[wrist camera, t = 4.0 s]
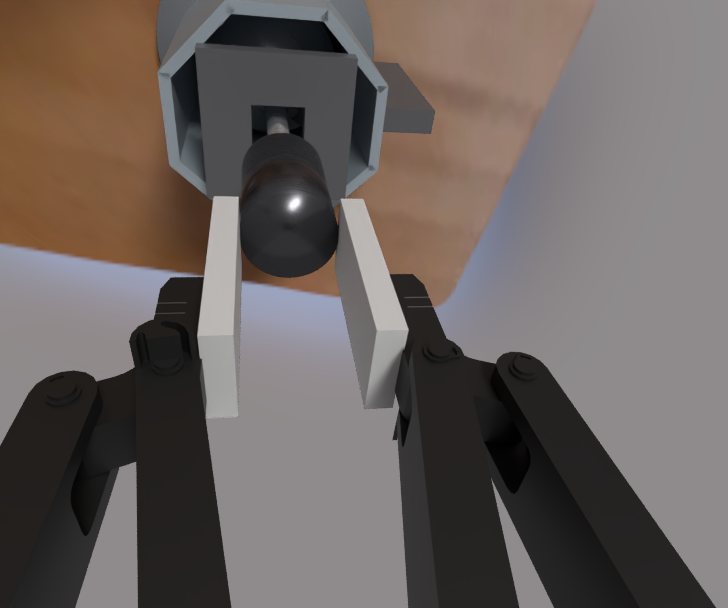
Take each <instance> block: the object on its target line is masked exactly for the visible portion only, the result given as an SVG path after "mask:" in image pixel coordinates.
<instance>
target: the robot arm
mask: <svg viewBox="0 0 728 608" xmlns="http://www.w3.org/2000/svg"><path fill="white" fill-rule="evenodd" d="M338 231H339V239H338V244H337V247H336V256H335V272H336V277H337V282H338V287H339V291H340V296H341V301H342V305H343V310H344V315H345V319H346V324H347V329H348V334H349V338H350V343H351V348H352V352H353V357H354V362H355V366H356V371H357V375H358V381H359V385H360V390H361V395H362V399H363V404H364V409H376V408H392V407H393V403H394V398H395V394H396V397H397V401H398V404H399V412H398V416H397V421H396V425H395V430H394V436H393V440H397V437H398V451H399V466H400V481H401V497H402V514H403V529H404V545H405V562H406V576H407V592H408V606H409V607H408V608H519V605H518V600H517V595H516V591H515V586H514V581H513V577H512V572H511V568H510V563H509V558H508V554H507V549H506V544H505V540H504V535H503V531H502V526H501V522H500V517H499V512H498V509H497V503H496V499H495V494H494V490H493V485H492V481H493V483H494V485H495V487H496V489H497V491H498V493H499V495H500V497H501V499H502V501H503V503H504V505H505V507H506V509H507V511H508V514H509V515H510V518H511V520H512V522H513V524H514V526H515V528H516V530H517V532H518V534H519V536H520V538H521V540H522V542H523V544H524V547H525V549H526V551H527V552H528V555H529V557H530V559H531V561H532V563H533V565H534V567H535V569H536V571H537V573H538V575H539V577H540V580H541V582H542V584H543V586H544V587H545V590H546V592H547V594H548V596H549V598H550V600H551V602H552V604H553V606H554V608H716V607H715V606H714V604H713V603H712V601H711V600H710V598H709V597H708V596H707V594H706V593H705V591H704V590H703V589H702V587H701V586H700V584H699V583H698V582H697V580H696V579H695V577H694V576H693V574H692V573H691V571H690V570H689V569H688V567H687V566H686V564H685V563H684V562H683V560H682V559H681V557H680V556H679V554H678V553H677V552H676V550H675V549H674V547H673V546H672V545H671V543H670V542H669V540H668V539H667V538H666V536H665V535H664V533H663V532H662V530H661V529H660V528H659V526H658V525H657V523H656V522H655V520H654V519H653V518H652V516H651V515H650V513H649V512H648V511H647V509H646V508H645V506H644V505H643V503H642V502H641V501H640V499H639V498H638V496H637V495H636V494H635V492H634V491H633V489H632V488H631V486H630V485H629V484H628V482H627V481H626V479H625V478H624V476H623V475H622V474H621V472H620V471H619V469H618V468H617V467H616V465H615V464H614V462H613V461H612V459H611V458H610V457H609V455H608V454H607V452H606V451H605V450H604V448H603V447H602V445H601V444H600V442H599V441H598V439H597V438H596V437H595V435H594V434H593V432H592V431H591V430H590V428H589V427H588V425H587V424H586V422H585V421H584V420H583V418H582V417H581V415H580V414H579V413H578V411H577V410H576V408H575V407H574V405H573V404H572V403H571V401H570V400H569V398H568V397H567V395H566V394H565V393H564V391H563V390H562V388H561V387H560V386H559V384H558V383H557V381H556V380H555V378H554V377H553V376H552V374H551V373H550V372H549V370H548V368H547V367H546V366H545V365H544V364H543V363H542V362H541V361H540V360H538V359H536V358H535V357H533V356H531V355H528V354H525V353H521V352H509V353H505V354H503V355H502V356H500V357H499V359H498V360H497V362H496V364H494V363H489V362H484V361H479V360H475V359H472V358H468V357H466V356H464V354H463V352H462V350H461V348H460V347H458V346H457V345H456V344H455V343H454V342H452V341H450V340H448V339H446V336H445V334H444V331H443V329H442V327H441V324H440V322H439V320H438V317H437V315H436V312H435V310H434V308H433V307H432V303H431V301H430V298H428V294H427V291H426V289H425V286H424V284H423V283H422V282H421V281H419V280H418V279H417V278H416V277H415V276H414V275H413V274H389V272H388V269H387V266H386V263H385V260H384V257H383V255H382V252H381V249H380V246H379V243H378V240H377V237H376V234H375V232H374V229H373V226H372V223H371V220H370V217H369V214H368V211H367V209H366V206H365V203H364V200H363V199H340V209H339V221H338ZM241 280H242V262H241V241H240V216H239V197H232V196H214V198H213V206H212V215H211V223H210V232H209V241H208V249H207V258H206V266H205V275H204V277H175V278H170V279H169V280H168V281H167V282H166V283H165V285H164V286H163V287H162V288H161V289H160V293H159V298H158V304H157V308H156V312H155V313H156V314H155V316H154V320H150V321H148V322H146V323H144V324H142V325H140V326H138V327H137V329H136V330H135V331H134V332H133V333H132V334H131V337H130V341H129V343H130V347H131V352H132V356H133V361H134V365H135V367H134V368H133V369H131V370H129V371H128V372H126V373H124V374H121V375H118V376H116V377H112V378H108V379H104V380H101V381H97V382H96V381H95V379H94V377H92V376H91V375H89V374H87V373H85V372H79V371H66V372H60V373H57V374H54V375H51V376H49V377H46V378H45V379H43V380H42V381H40V382H39V383H37V384H36V385H35V386H34V388H33V389H32V390H31V391H30V393H29V394H28V396H27V397H26V399H25V401H24V403H23V405H22V407H21V408H20V410H19V412H18V414H17V416H16V418H15V419H14V421H13V423H12V425H11V427H10V429H9V431H8V432H7V434H6V436H5V438H4V440H3V442H2V444H1V446H0V608H75V606H76V603H77V600H78V597H79V594H80V590H81V587H82V584H83V581H84V578H85V575H86V571H87V568H88V564H89V562H90V559H91V556H92V552H93V549H94V546H95V542H96V540H97V537H98V534H99V530H100V527H101V524H102V521H103V518H104V515H105V511H106V508H107V505H108V502H109V499H110V496H111V493H112V489H113V486H114V483H115V480H116V477H117V474H118V470H119V467H121V466H124V465H127V464H130V463H133V462H136V467H137V468H136V469H137V552H138V553H137V558H138V608H231V602H230V595H229V588H228V580H227V572H226V565H225V558H224V551H223V543H222V536H221V528H220V522H219V514H218V507H217V499H216V492H215V484H214V477H213V471H212V463H211V455H210V448H209V440H208V434H207V426H206V419H205V414H207V418H224V417H238V405H239V403H238V402H239V363H240V323H241V321H240V320H241ZM491 478H492V481H491Z"/></svg>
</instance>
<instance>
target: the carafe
mask: <svg viewBox="0 0 728 608" xmlns="http://www.w3.org/2000/svg"><path fill="white" fill-rule="evenodd" d="M231 14H240V15H252V16H264V17H276V18H288V19H300V20H312V21H321V23H322V24H323V26H324V28H325V30H326V31H327V33H328V35H329V38H330V40H331V43H332V46H333V50H334V53H333V52H319V51H305V50H291V49H277V48H263V47H250V46H236V45H222V44H208V43H205V41H206V40H207V39H208V38H209V37H210V36H211V35H212V34H213V33H214V32H215V30H216V29H217V28H218V27H219V26H220V25H221V24H222V23H223V22H224V21H225V20H226V19H227V18H228V17H229V16H230V15H231ZM158 80H159V88H160V95H161V103H162V111H163V119H164V127H165V135H166V143H167V151H168V159H169V165H170V166H171V167H172V168H173V169H175V170H176V171H177V172H178V173H179V174H181V175H182V176H183V177H184V178H185V179H187V180H188V181H189V182H190V183H191V184H193V185H194V186H195V187H196V188H197V189H199V190H200V191H201V192H202V193H203V194H205V195H206V196H207V198H209V199H211V200H212V201H213V198H214V196H232V197H239V216H240V221H241V181H242V163H243V159H244V156H245V154H246V152H247V151H248V149H249V148H250V147H251V145H252V144H253V143H255V142H256V141H257V140H259V139H260V138H262V137H264V136H266V135H267V132H264V131H259V130H255V129H252V119H251V105H266V106H285V107H304V116H303V125H302V126H300V127H297V128H295V129H292V130H289V133H290V134H294V135H296V136H299V137H301V138H303V139H305V140H306V141H308V142H309V143H310V144H311V145H312V146H313V147H314V148H315V149H316V151H317V153H318V154H319V156H320V159H321V162H322V166H323V170H324V174H325V178H326V182H327V186H328V190H329V194H330V198H331V201H332V205H333V208H334V207H335V206H336V205H337V204H339V203H340V199H345V198H346V197H347V196H348V195H349V194H351V193H352V192H353V191H354V190H355V189H357V188H358V187H359V186H360V185H361V184H363V183H364V182H365V181H366V180H367V179H369V178H370V177H371V176H372V175H373V174H375V173H376V172H377V171H378V164H379V156H380V148H381V141H382V133H383V132H400V133H423V134H431V131H432V125H433V120H434V114H435V110H434V109H433V108H432V106H431V105H430V104H429V103H428V101H427V100H426V99H425V98H424V96H423V95H422V94H421V92H420V91H419V90H418V89H417V87H416V86H415V85H414V84H413V82H412V81H411V80H410V78H409V77H408V76H407V75H406V73H405V72H404V71H403V70H402V68H401V67H400V66H399V64H398V63H384V62H372V60H371V59H370V57H369V56H368V54H367V53H366V51H365V50H364V48H363V47H362V45H361V44H360V42H359V41H358V39H357V38H356V36H355V35H354V33H353V31H352V30H351V28H350V27H349V25H348V24H347V23H346V21H345V20H344V19H343V17H342V16H341V15H340V13H339V12H338V11H337V10H336V8H335V7H334V6H333V4H332V3H331V2H330V0H196V1H195V2H194V3H193V4H192V5H191V6H190V7H189V8H188V10H187V11H186V12H185V14H184V16H183V18H182V20H181V23H180V25H179V27H178V29H177V31H176V33H175V36H174V38H173V40H172V42H171V44H170V46H169V49H168V51H167V53H166V55H165V57H164V60H163V62H162V64H161V66H160V68H159V70H158Z"/></svg>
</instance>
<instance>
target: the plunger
mask: <svg viewBox="0 0 728 608" xmlns="http://www.w3.org/2000/svg"><path fill="white" fill-rule="evenodd" d="M205 43H208V44H222V45H236V46H250V47H263V48H277V49H291V50H305V51H319V52H333V53H334V50H333V46H332V43H331V40H330V38H329V35H328V33H327V31H326V30H325V28H324V26H323V24H322V23H321V21H312V20H300V19H288V18H276V17H264V16H252V15H240V14H231V15H230V16H229V17H228V18H227V19H226V20H225V21H224V22H223V23H222V24H221V25H220V26H219V27H218V28H217V29H216V30H215V32H214V33H213V34H212V35H211V36H210V37H209V38H208V39H207V40H206V41H205ZM303 116H304V107H285V106H266V105H251V119H252V129H255V130H259V131H264V132H267V135H266V136H264V137H262V138H260V139H259V140H257V141H256V142H255V143H253V144H252V145H251V147H250V148H249V149H248V151H247V152H246V154H245V156H244V159H243V163H242V181H241V222H240V241H241V246H242V249H243V251H244V253H245V255H246V257H247V258H248V259H249V261H250V262H251V263H252V264H253V265H254V266H256V267H257V268H258V269H260V270H261V271H263V272H265V273H268V274H270V275H274V276H277V277H286V278H291V277H300V276H304V275H307V274H310V273H312V272H314V271H316V270H318V269H319V268H321V267H322V266H323V265H325V264H326V263H327V262H328V261H329V259H330V258H331V257H332V255H333V254H334V252H335V250H336V247H337V244H338V239H339V231H338V225H337V221H336V217H335V213H334V209H333V205H332V201H331V198H330V194H329V190H328V186H327V182H326V178H325V174H324V170H323V166H322V162H321V159H320V156H319V154H318V153H317V151H316V149H315V148H314V147H313V146H312V145H311V144H310V143H309V142H308V141H306V140H305V139H303V138H301V137H299V136H296V135H294V134H290V133H289V130H292V129H295V128H297V127H300V126H302V125H303Z"/></svg>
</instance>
